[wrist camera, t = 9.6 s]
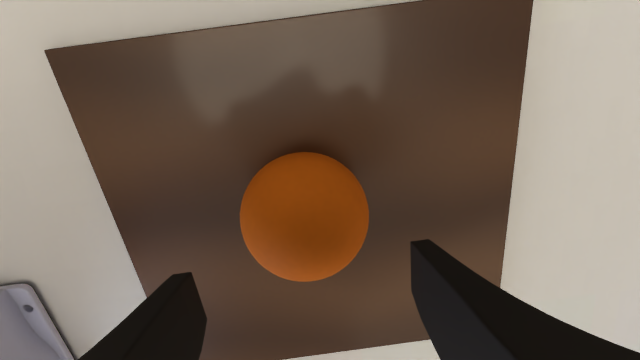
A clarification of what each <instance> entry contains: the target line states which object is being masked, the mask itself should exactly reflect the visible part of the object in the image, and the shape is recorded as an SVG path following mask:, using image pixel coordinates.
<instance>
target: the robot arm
mask: <svg viewBox="0 0 640 360" xmlns="http://www.w3.org/2000/svg"><path fill="white" fill-rule="evenodd" d="M410 252H411V292H412V295H413V298H414V301H415V304H416V307H417V309H418V312H419V315H420V318H421V320H422V322H423V324H424V327H425V329H426V331H427V333H428V335H429V337H430V339H431V341H432V343H433V345H434V347H435V349H436V351H437V353H438V355H439V357H440V359H441V360H640V353H638V352H635V351H633V350H630V349H627V348H625V347H622V346H619V345H617V344H614V343H612V342H609V341H607V340H604V339H602V338H599V337H597V336H594V335H592V334H590V333H587V332H585V331H583V330H581V329H578V328H576V327H574V326H572V325H569V324H567V323H565V322H563V321H560V320H558V319H556V318H554V317H552V316H550V315H548V314H546V313H544V312H542V311H540V310H538V309H536V308H534V307H533V306H531V305H529V304H527V303H525V302H523V301H521V300H519V299H518V298H516V297H514V296H512V295H511V294H509V293H507V292H506V291H504V290H502V289H501V288H499V287H497V286H496V285H494V284H492V283H491V282H489V281H488V280H486V279H485V278H483V277H482V276H480V275H479V274H477V273H476V272H474V271H473V270H471V269H470V268H468V267H467V266H465V265H464V264H463V263H461V262H460V261H458V260H457V259H456V258H454V257H453V256H451V255H450V254H449V253H447V252H446V251H445V250H443V249H442V248H441V247H439V246H438V245H436V244H435V243H434V242H432V241H431V240H430V239H425V240H418V241H411V242H410ZM206 324H207V317H206V314H205V311H204V308H203V305H202V302H201V299H200V296H199V293H198V290H197V287H196V284H195V281H194V278H193V275H192V272H186V273H179V274H173V275H171V276H170V277H169V278H168V279H167V280H166V281H165V282H163V283H162V284H161V285H160V286H159V287H158V288H157V289H156V290H155V291H154V292H153V293H152V294H151V295H150V296H149V297H148V298H147V299H146V300H144V301H143V302H142V303H141V304H140V305H139V306H138V307H137V308H136V309H135V310H134V311H133V312H132V313H131V314H130V315H129V316H128V317H126V318H125V319H124V320H123V321H122V322H121V323H120V324H119V325H118V326H117V327H115V328H114V329H113V330H112V331H111V332H110V333H109V334H107V335H106V336H105V337H104V338H103V339H102V340H101V341H99V342H98V343H97V344H96V345H95V346H94V347H93V348H91V349H90V350H89V351H88V352H87V353H85V354H84V355H83V356H82V357H81V358H79V359H78V360H199V358H200V354H201V351H202V346H203V341H204V336H205V330H206ZM0 360H74V358H73V357H72V355H71V353H70V351H69V350H68V348H67V346H66V345H65V343H64V341H63V339H62V338H61V336H60V334H59V333H58V331H57V329H56V327H55V326H54V324H53V322H52V320H51V319H50V317H49V315H48V314H47V312H46V310H45V308H44V307H43V305H42V303H41V302H40V300H39V298H38V296H37V295H36V293H35V291H34V289H33V288H32V287H31V286H30V285H28V284H13V285H6V286H0Z"/></svg>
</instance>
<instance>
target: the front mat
mask: <svg viewBox="0 0 640 360" xmlns="http://www.w3.org/2000/svg"><path fill="white" fill-rule="evenodd" d="M532 6H533V0H422V1H414V2H406V3H399V4H391V5H383V6H376V7H368V8H361V9H353V10H345V11H338V12H330V13H322V14H315V15H307V16H300V17H292V18H284V19H277V20H269V21H261V22H254V23H246V24H239V25H231V26H223V27H216V28H208V29H200V30H193V31H185V32H178V33H170V34H162V35H155V36H147V37H139V38H132V39H124V40H117V41H109V42H101V43H94V44H86V45H78V46H71V47H63V48H55V49H48V50H44V51H45V54H46V56H47V59H48V61H49V63H50V66H51V68H52V71H53V73H54V75H55V78H56V80H57V83H58V85H59V87H60V90H61V92H62V95H63V97H64V99H65V102H66V104H67V107H68V109H69V111H70V114H71V116H72V119H73V121H74V123H75V126H76V128H77V131H78V133H79V135H80V138H81V140H82V143H83V145H84V147H85V150H86V152H87V155H88V157H89V159H90V162H91V164H92V167H93V169H94V171H95V174H96V176H97V179H98V181H99V183H100V186H101V188H102V191H103V193H104V196H105V198H106V200H107V203H108V205H109V208H110V210H111V212H112V215H113V217H114V220H115V222H116V224H117V227H118V229H119V232H120V234H121V236H122V239H123V241H124V244H125V246H126V248H127V251H128V253H129V256H130V258H131V260H132V263H133V265H134V268H135V270H136V272H137V275H138V277H139V280H140V282H141V284H142V287H143V289H144V292H145V294H146V296H147V298H148V297H149V296H150V295H151V294H152V293H153V292H154V291H155V290H156V289H157V288H158V287H159V286H160V285H161V284H162V283H163V282H165V281H166V280H167V279H168V278H169V277H170V276H171V275H173V274H179V273H186V272H192V275H193V278H194V281H195V284H196V287H197V290H198V293H199V296H200V299H201V302H202V305H203V308H204V311H205V314H206V317H207V324H206V330H205V336H204V341H203V346H202V351H201V354H200V358H199V360H283V359H290V358H297V357H305V356H312V355H319V354H327V353H334V352H341V351H349V350H356V349H363V348H370V347H378V346H385V345H392V344H400V343H407V342H414V341H422V340H429V339H430V337H429V335H428V333H427V331H426V329H425V327H424V324H423V322H422V320H421V318H420V315H419V312H418V309H417V307H416V304H415V301H414V298H413V295H412V292H411V252H410V242H411V241H418V240H425V239H430V240H431V241H432V242H434V243H435V244H436V245H438V246H439V247H441V248H442V249H443V250H445V251H446V252H447V253H449V254H450V255H451V256H453V257H454V258H456V259H457V260H458V261H460V262H461V263H463V264H464V265H465V266H467V267H468V268H470V269H471V270H473V271H474V272H476V273H477V274H479V275H480V276H482V277H483V278H485V279H486V280H488V281H489V282H491V283H492V284H494V285H496V286H497V287H499V288H500V283H501V275H502V266H503V257H504V249H505V240H506V231H507V223H508V214H509V205H510V197H511V188H512V179H513V171H514V162H515V153H516V145H517V136H518V127H519V119H520V110H521V101H522V93H523V84H524V75H525V67H526V58H527V49H528V41H529V32H530V23H531V15H532ZM297 152H313V153H318V154H322V155H326V156H329V157H331V158H333V159H335V160H337V161H338V162H340V163H341V164H343V165H344V166H345V167H346V168H348V169H349V170H350V171H351V172H352V173H353V174H354V176H355V177H356V178H357V180H358V181H359V183H360V185H361V186H362V188H363V190H364V193H365V196H366V199H367V203H368V209H369V224H368V230H367V234H366V237H365V240H364V243H363V245H362V247H361V249H360V250H359V252H358V253H357V255H356V256H355V257H354V259H353V260H352V261H351V262H350V263H349V264H348V265H347V266H346V267H344V268H343V269H342V270H340V271H339V272H337V273H335V274H334V275H332V276H329V277H327V278H324V279H321V280H316V281H308V282H299V281H292V280H287V279H284V278H281V277H279V276H277V275H275V274H273V273H271V272H270V271H268V270H267V269H265V268H264V267H263V266H262V265H260V264H259V263H258V262H257V260H256V259H255V258H254V257H253V256H252V254H251V253H250V251H249V250H248V248H247V246H246V244H245V241H244V238H243V235H242V232H241V226H240V208H241V202H242V199H243V195H244V193H245V191H246V189H247V187H248V185H249V183H250V181H251V180H252V178H253V177H254V176H255V175H256V174H257V172H258V171H259V170H261V169H262V168H263V167H264V166H265V165H266V164H268V163H269V162H271V161H272V160H274V159H276V158H279V157H281V156H284V155H287V154H291V153H297Z"/></svg>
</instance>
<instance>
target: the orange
mask: <svg viewBox="0 0 640 360" xmlns="http://www.w3.org/2000/svg"><path fill="white" fill-rule="evenodd" d="M368 224H369V209H368V203H367V199H366V196H365V193H364V190H363V188H362V186H361V185H360V183H359V181H358V180H357V178H356V177H355V176H354V174H353V173H352V172H351V171H350V170H349V169H348V168H346V167H345V166H344V165H343V164H341V163H340V162H338V161H337V160H335V159H333V158H331V157H329V156H326V155H322V154H318V153H313V152H297V153H291V154H287V155H284V156H281V157H279V158H276V159H274V160H272V161H271V162H269V163H268V164H266V165H265V166H264V167H263V168H262V169H261V170H259V171H258V172H257V174H256V175H255V176H254V177H253V178H252V180H251V181H250V183H249V185H248V187H247V189H246V191H245V193H244V195H243V199H242V202H241V208H240V226H241V232H242V235H243V238H244V241H245V244H246V246H247V248H248V250H249V251H250V253H251V254H252V256H253V257H254V258H255V259H256V260H257V262H258V263H259V264H260V265H262V266H263V267H264V268H265V269H267V270H268V271H270V272H271V273H273V274H275V275H277V276H279V277H281V278H284V279H287V280H292V281H299V282H308V281H316V280H321V279H324V278H327V277H329V276H332V275H334V274H335V273H337V272H339V271H340V270H342V269H343V268H344V267H346V266H347V265H348V264H349V263H350V262H351V261H352V260H353V259H354V257H355V256H356V255H357V253H358V252H359V250H360V249H361V247H362V245H363V243H364V240H365V237H366V234H367V230H368Z"/></svg>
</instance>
